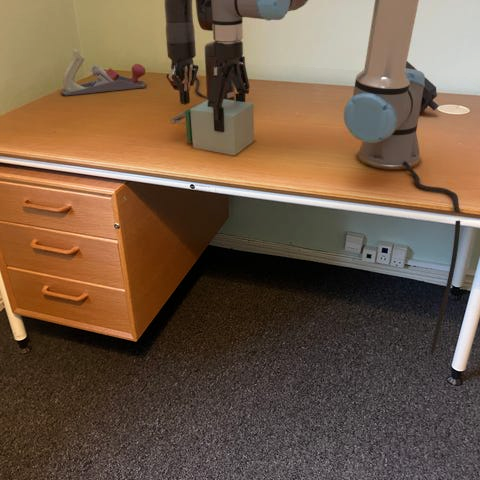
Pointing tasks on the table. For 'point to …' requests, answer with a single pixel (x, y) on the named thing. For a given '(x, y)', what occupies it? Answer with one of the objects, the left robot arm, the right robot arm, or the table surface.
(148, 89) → the table surface
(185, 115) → the drawer
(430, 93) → the tool
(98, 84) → the hand plane
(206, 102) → the grey box
